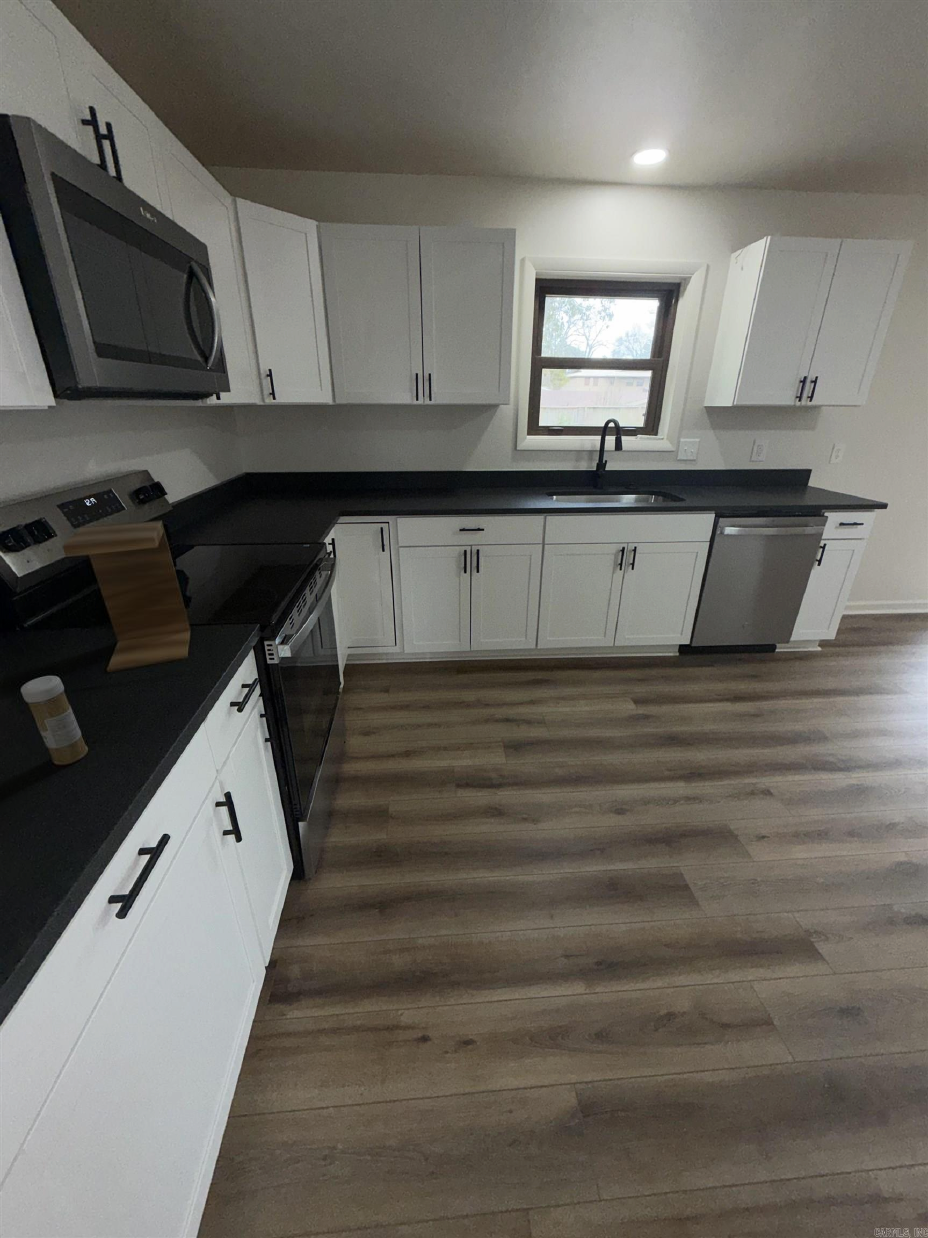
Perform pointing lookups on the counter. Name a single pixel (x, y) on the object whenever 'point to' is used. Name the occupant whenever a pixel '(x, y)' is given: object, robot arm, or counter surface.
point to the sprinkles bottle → (55, 719)
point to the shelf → (137, 591)
